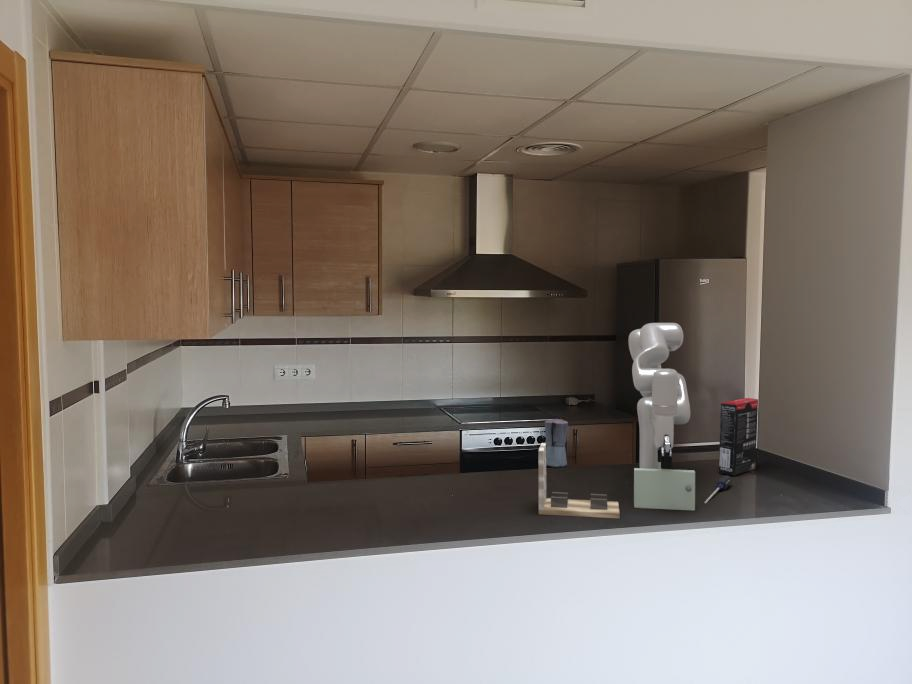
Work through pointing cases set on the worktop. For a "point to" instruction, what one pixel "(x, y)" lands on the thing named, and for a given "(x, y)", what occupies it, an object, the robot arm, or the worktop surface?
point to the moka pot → (556, 442)
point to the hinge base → (570, 507)
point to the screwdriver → (721, 485)
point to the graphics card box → (738, 436)
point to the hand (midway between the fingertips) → (664, 465)
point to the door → (664, 489)
